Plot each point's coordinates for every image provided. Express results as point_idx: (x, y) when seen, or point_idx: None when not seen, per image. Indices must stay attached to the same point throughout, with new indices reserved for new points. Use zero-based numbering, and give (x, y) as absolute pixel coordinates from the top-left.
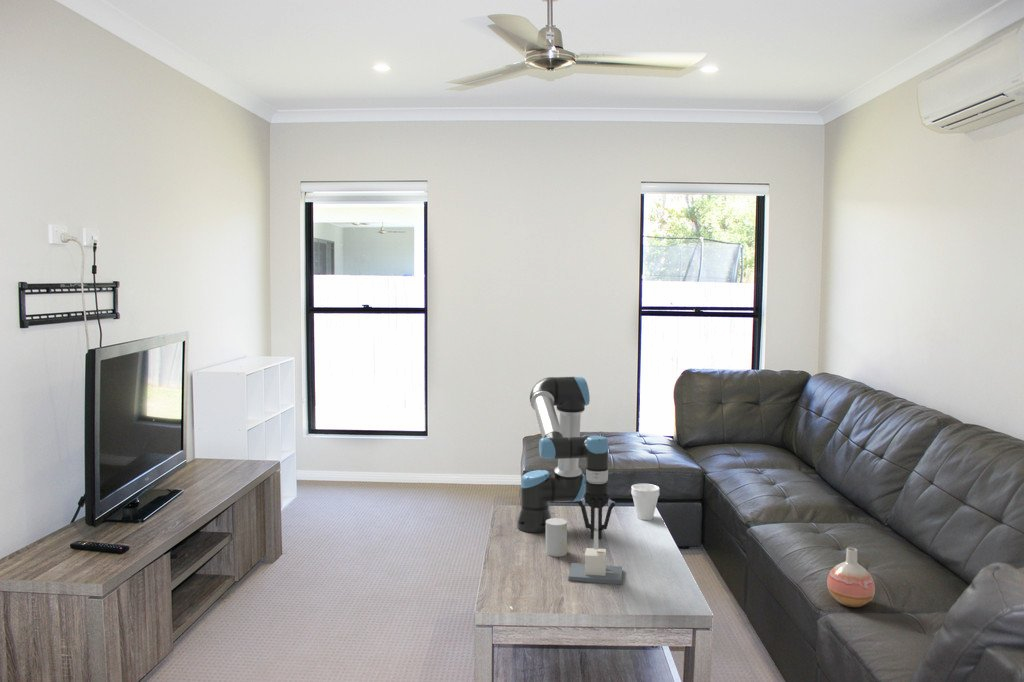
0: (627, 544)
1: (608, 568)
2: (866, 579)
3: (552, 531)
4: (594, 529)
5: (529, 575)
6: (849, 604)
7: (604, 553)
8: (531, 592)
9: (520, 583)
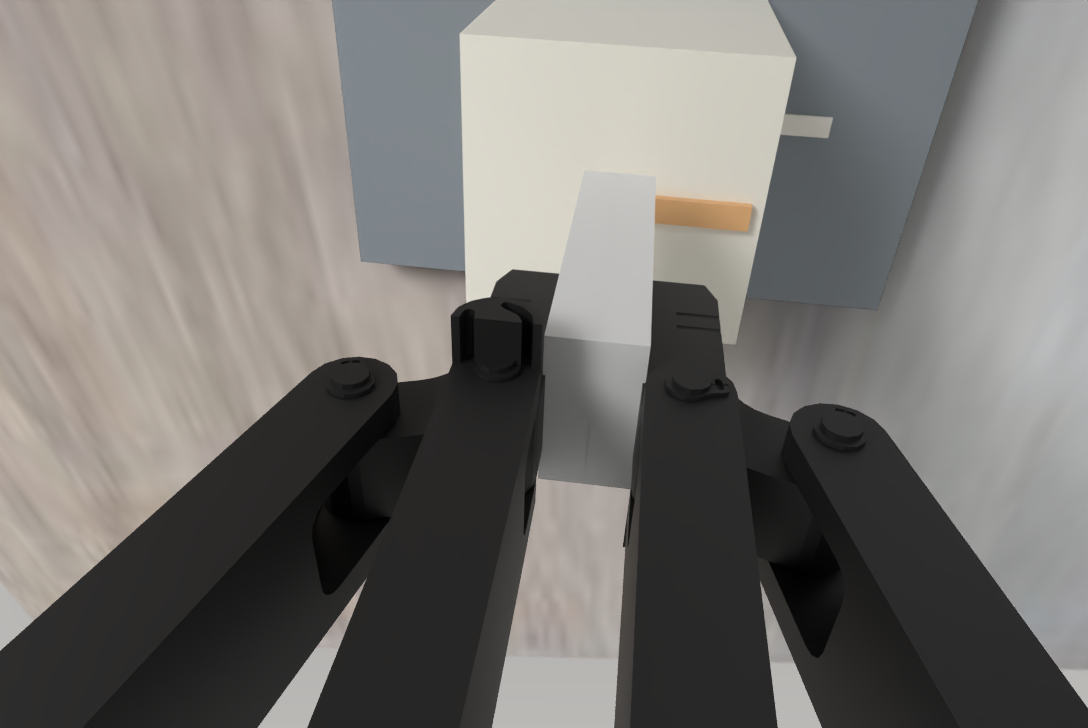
0: None
1: (795, 5)
2: None
3: None
4: (548, 405)
5: (12, 164)
6: None
7: (739, 247)
8: (167, 444)
9: (28, 320)
